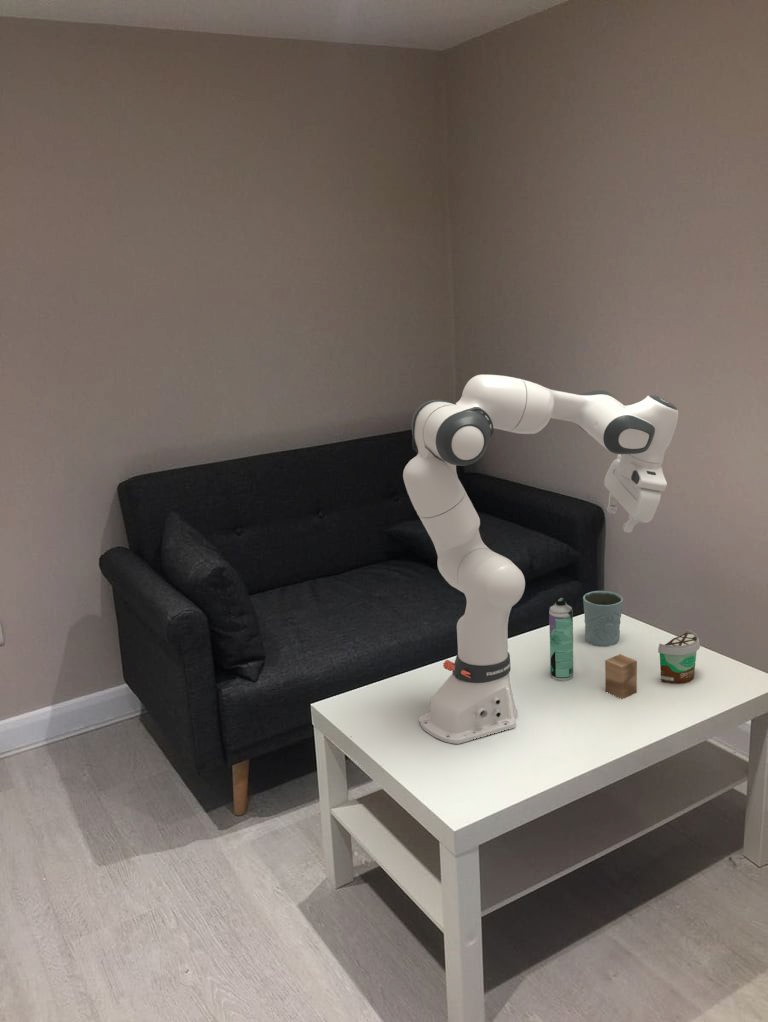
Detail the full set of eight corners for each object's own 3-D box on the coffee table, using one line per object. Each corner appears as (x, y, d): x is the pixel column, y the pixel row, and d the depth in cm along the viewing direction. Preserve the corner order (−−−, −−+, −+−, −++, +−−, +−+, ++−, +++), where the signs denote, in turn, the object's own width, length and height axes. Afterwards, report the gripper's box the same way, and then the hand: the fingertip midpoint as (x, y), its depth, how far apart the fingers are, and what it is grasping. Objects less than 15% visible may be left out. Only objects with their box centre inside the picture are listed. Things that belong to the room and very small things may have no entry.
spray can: (573, 671, 224) (572, 594, 219) (573, 681, 219) (572, 603, 214) (550, 670, 225) (549, 594, 220) (550, 680, 220) (548, 603, 215)
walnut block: (621, 699, 209) (621, 667, 207) (605, 691, 213) (605, 660, 211) (636, 692, 212) (636, 660, 210) (620, 685, 216) (620, 654, 214)
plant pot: (592, 630, 248) (592, 588, 245) (628, 636, 242) (628, 594, 239) (577, 643, 240) (576, 600, 237) (614, 651, 234) (614, 607, 231)
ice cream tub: (680, 691, 211) (681, 651, 208) (657, 683, 215) (658, 644, 213) (709, 673, 218) (710, 634, 216) (686, 666, 223) (687, 628, 220)
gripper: (609, 447, 213) (590, 499, 218) (644, 483, 195) (622, 540, 200) (633, 451, 214) (613, 503, 220) (670, 488, 196) (648, 544, 202)
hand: (618, 521), depth 210 cm, fingers open, 8 cm apart
